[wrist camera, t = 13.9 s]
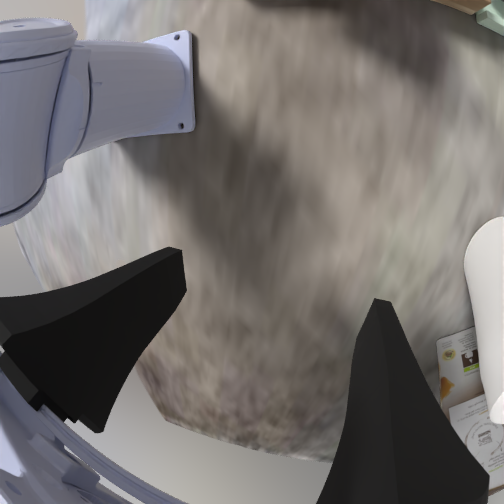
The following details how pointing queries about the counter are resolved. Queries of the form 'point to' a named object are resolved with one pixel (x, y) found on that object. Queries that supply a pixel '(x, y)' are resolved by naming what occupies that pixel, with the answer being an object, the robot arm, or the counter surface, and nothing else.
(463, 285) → the counter surface
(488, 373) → the cup
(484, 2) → the slot board
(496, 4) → the tray
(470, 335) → the coffee box
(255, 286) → the counter surface
